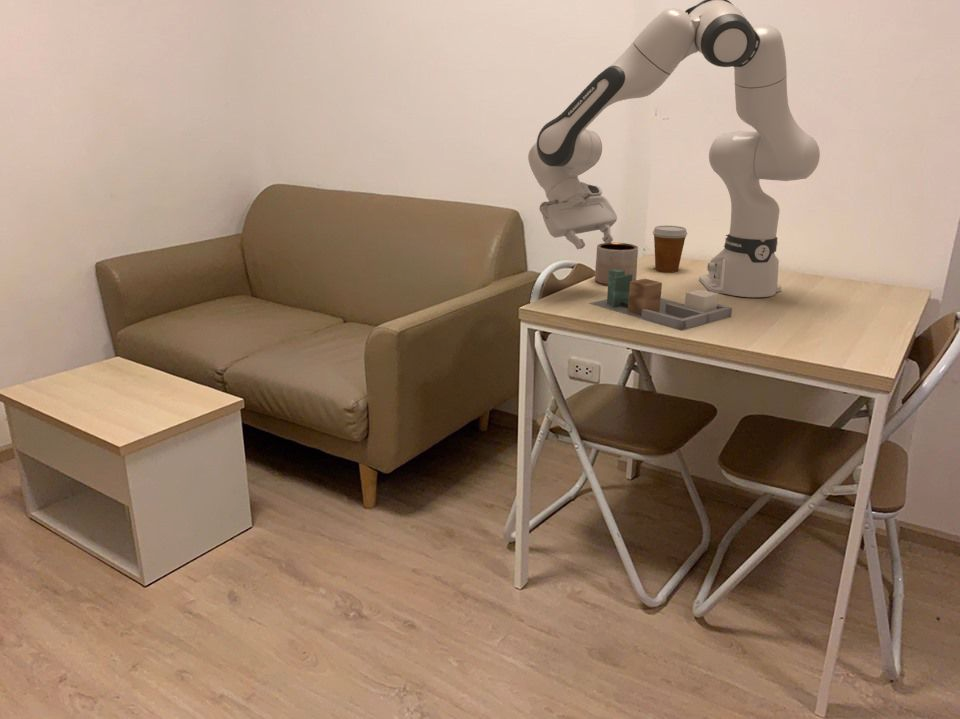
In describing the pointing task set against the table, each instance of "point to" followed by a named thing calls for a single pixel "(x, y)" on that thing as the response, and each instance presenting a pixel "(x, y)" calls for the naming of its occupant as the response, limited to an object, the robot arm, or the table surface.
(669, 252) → the disposable coffee cup
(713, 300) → the cream block
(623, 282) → the toy blocks
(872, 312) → the table surface
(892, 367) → the table surface
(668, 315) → the board
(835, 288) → the table surface
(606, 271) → the planter
